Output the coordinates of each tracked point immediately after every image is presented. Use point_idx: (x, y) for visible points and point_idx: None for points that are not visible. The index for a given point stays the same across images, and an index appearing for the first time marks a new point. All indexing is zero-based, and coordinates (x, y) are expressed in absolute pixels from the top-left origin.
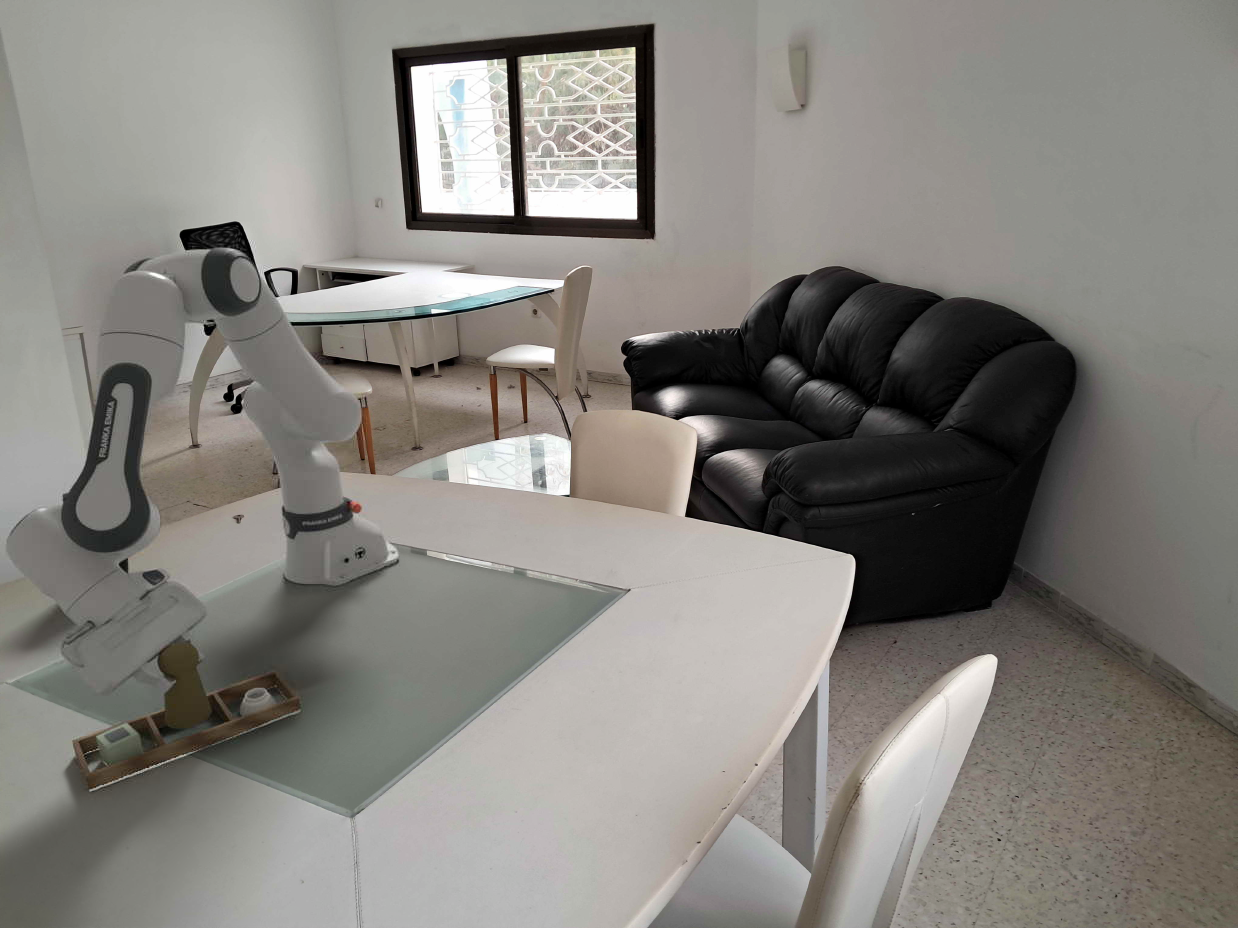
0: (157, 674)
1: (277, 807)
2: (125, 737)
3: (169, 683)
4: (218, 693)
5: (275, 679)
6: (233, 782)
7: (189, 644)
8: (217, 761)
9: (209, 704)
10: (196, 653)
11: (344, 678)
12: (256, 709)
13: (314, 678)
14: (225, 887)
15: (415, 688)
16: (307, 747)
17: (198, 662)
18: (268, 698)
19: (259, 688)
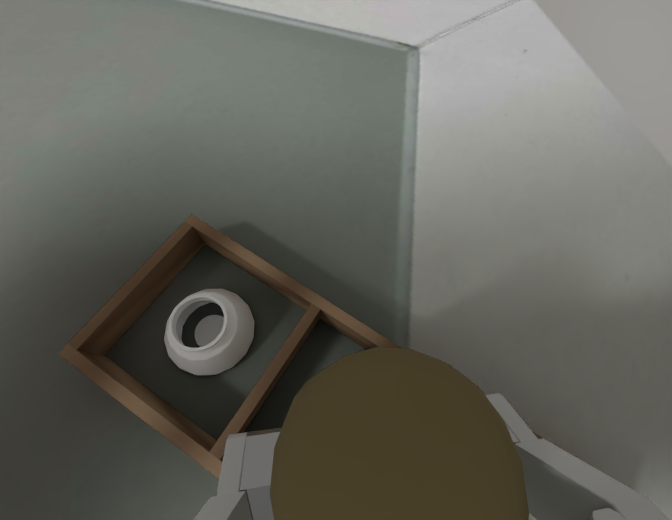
0: (559, 461)
1: (447, 131)
2: (530, 517)
3: (494, 401)
4: (207, 448)
5: (94, 347)
6: (433, 223)
7: (318, 448)
8: (400, 289)
9: (309, 381)
10: (344, 360)
11: (56, 217)
12: (239, 304)
13: (59, 282)
14: (582, 113)
15: (90, 83)
16: (307, 164)
17: (280, 428)
18: (199, 293)
19: (172, 328)
